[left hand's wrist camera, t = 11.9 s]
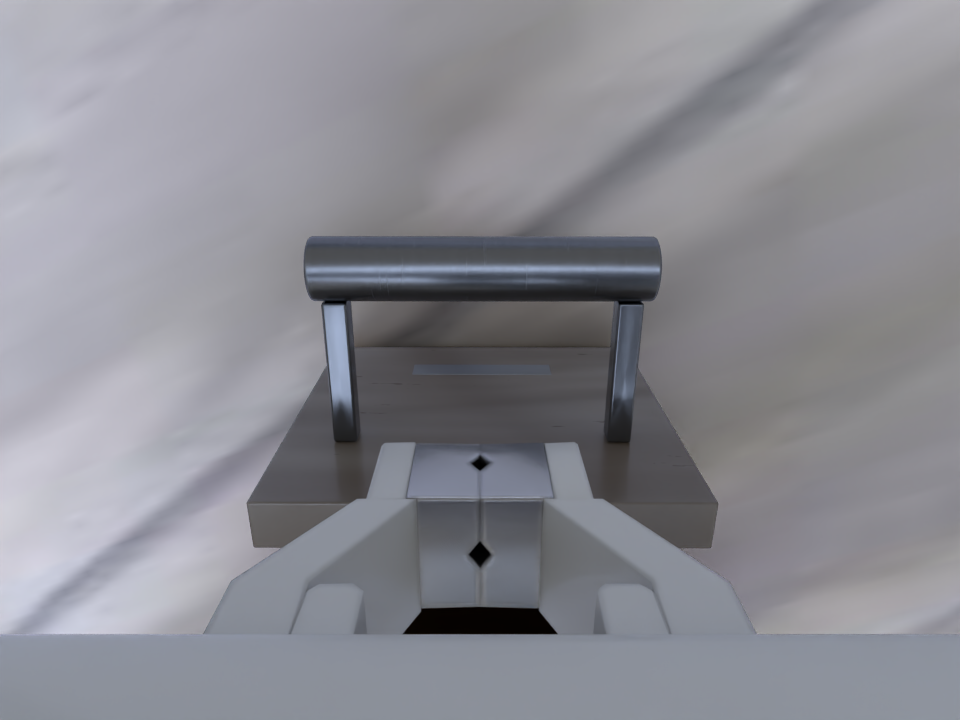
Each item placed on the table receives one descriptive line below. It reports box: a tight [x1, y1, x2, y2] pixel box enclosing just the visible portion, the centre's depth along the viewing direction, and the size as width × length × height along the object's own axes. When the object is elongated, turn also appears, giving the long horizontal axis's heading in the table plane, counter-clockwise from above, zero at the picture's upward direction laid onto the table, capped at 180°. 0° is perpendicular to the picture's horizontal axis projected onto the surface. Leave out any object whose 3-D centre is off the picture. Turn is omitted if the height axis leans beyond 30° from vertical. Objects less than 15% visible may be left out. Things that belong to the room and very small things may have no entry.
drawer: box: [247, 236, 718, 634], centre depth 21 cm, size 23×10×10 cm, turn 0°
